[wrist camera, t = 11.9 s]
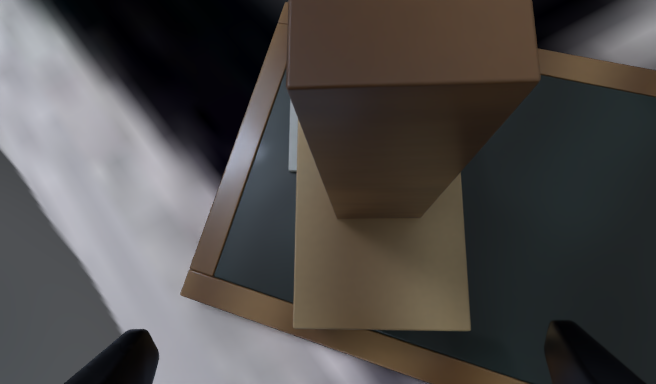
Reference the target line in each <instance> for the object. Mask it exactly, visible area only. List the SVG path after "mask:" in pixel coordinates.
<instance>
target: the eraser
mask: <svg viewBox="0 0 656 384" xmlns="http://www.w3.org/2000/svg"><path fill="white" fill-rule="evenodd" d="M540 80H541V75H540V66H539V57H538V49H537V40H536V31H535V22H534V14H533V5H532V0H288V32H287V64H286V89H287V91H288V94H289V96H290V99H291V102H292V104H293V107H294V109H295V112H296V115H297V117H298V132H297V174H296V216H295V259H294V301H293V328H295V329H346V330H411V331H470V330H471V321H470V306H469V291H468V276H467V260H466V245H465V230H464V214H463V199H462V184H461V171H462V170H463V169H464V168H465V167H466V165H467V164H468V163H469V162H470V161H471V160H472V159H473V157H474V156H475V155H476V154H477V153H478V152H479V151H480V149H481V148H482V147H483V146H484V145H485V144H486V143H487V141H488V140H489V139H490V138H491V137H492V136H493V135H494V133H495V132H496V131H497V130H498V129H499V128H500V127H501V125H502V124H503V123H504V122H505V121H506V120H507V119H508V118H509V116H510V115H511V114H512V113H513V112H514V111H515V110H516V108H517V107H518V106H519V105H520V104H521V103H522V102H523V100H524V99H525V98H526V97H527V96H528V95H529V94H530V92H531V91H532V90H533V89H534V88H535V87H536V86H537V84H538V83H539V82H540Z"/></svg>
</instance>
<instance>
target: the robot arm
mask: <svg viewBox="0 0 656 384" xmlns="http://www.w3.org/2000/svg"><path fill="white" fill-rule="evenodd" d="M544 354H545V358H546V362H547V365H548V369H549V373H550V376H551V380H552V383H553V384H646V383H645V382H644V381H643V380H642V379H641V378H639V377H638V376H637V375H636V374H635V373H634V372H633V371H631V370H630V369H629V368H628V367H627V366H626V365H624V364H623V363H622V362H621V361H620V360H619V359H617V358H616V357H615V356H614V355H613V354H612V353H610V352H609V351H608V350H607V349H606V348H605V347H603V346H602V345H601V344H600V343H599V342H598V341H596V340H595V339H594V338H593V337H592V336H591V335H589V334H588V333H587V332H586V331H585V330H584V329H582V328H581V327H580V326H579V325H578V324H577V323H575V322H574V321H572V320H552V321H551V322H550V323H549V326H548V330H547V334H546V339H545V343H544ZM158 360H159V352H158V349H157V347H156V345H155V343H154V342H153V340H152V338H151V336H150V334H149V332H148V331H147V330H145V329H131V330H128V331H126V332H125V333H124V334H122V335H121V336H120V337H119V338H118V339H116V340H115V341H114V342H113V343H112V344H111V345H110V346H108V347H107V348H106V349H105V350H103V351H102V352H101V353H100V354H99V355H97V356H96V357H95V358H94V359H93V360H92V361H90V362H89V363H88V364H87V365H86V366H84V367H83V368H82V369H81V370H80V371H79V372H77V373H76V374H75V375H74V376H72V377H71V378H70V379H69V380H68V381H67V382H65V383H64V384H152V383H153V379H154V376H155V372H156V368H157V365H158Z"/></svg>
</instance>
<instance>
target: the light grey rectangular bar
mask: <svg viewBox="0 0 656 384" xmlns="http://www.w3.org/2000/svg"><path fill="white" fill-rule="evenodd" d="M297 132H298V117H297V115H296V112H295V109H294V107H293V104H292V102H291V99H290V132H289V171H290V172H297Z"/></svg>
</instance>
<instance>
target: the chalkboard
mask: <svg viewBox="0 0 656 384" xmlns="http://www.w3.org/2000/svg"><path fill="white" fill-rule="evenodd" d="M287 32H288V2H285V4H284V7H283V10H282V12H281V15H280V18H279V21H278V24H277V27H276V30H275V32H274V35H273V38H272V41H271V44H270V46H269V49H268V52H267V55H266V57H265V60H264V63H263V66H262V69H261V71H260V74H259V77H258V80H257V82H256V85H255V88H254V91H253V93H252V96H251V99H250V102H249V105H248V107H247V110H246V113H245V116H244V118H243V121H242V124H241V127H240V130H239V132H238V135H237V138H236V141H235V143H234V146H233V149H232V152H231V155H230V157H229V160H228V163H227V166H226V168H225V171H224V174H223V177H222V180H221V182H220V185H219V188H218V191H217V193H216V196H215V199H214V202H213V205H212V207H211V210H210V213H209V216H208V218H207V221H206V224H205V227H204V230H203V232H202V235H201V238H200V241H199V243H198V246H197V249H196V252H195V255H194V257H193V260H192V263H191V266H190V270H189V271H188V274H187V277H186V279H185V282H184V285H183V288H182V290H181V293H180V295H181V296H184V297H187V298H190V299H192V300H195V301H198V302H201V303H204V304H207V305H209V306H212V307H215V308H218V309H221V310H224V311H226V312H229V313H232V314H235V315H238V316H241V317H243V318H246V319H249V320H252V321H255V322H258V323H260V324H263V325H266V326H269V327H272V328H275V329H277V330H280V331H283V332H286V333H289V334H292V335H294V336H297V337H300V338H303V339H306V340H309V341H311V342H314V343H317V344H320V345H323V346H325V347H328V348H331V349H334V350H337V351H340V352H342V353H345V354H348V355H351V356H354V357H357V358H359V359H362V360H365V361H368V362H371V363H374V364H376V365H379V366H382V367H385V368H388V369H391V370H393V371H396V372H399V373H402V374H405V375H408V376H410V377H413V378H416V379H419V380H422V381H425V382H427V383H430V384H553V383H552V380H551V376H550V373H549V369H548V365H547V362H546V358H545V354H544V343H545V339H546V334H547V330H548V326H549V323H550V322H551V321H552V320H572V321H574V322H575V323H577V324H578V325H579V326H580V327H581V328H582V329H584V330H585V331H586V332H587V333H588V334H589V335H591V336H592V337H593V338H594V339H595V340H596V341H598V342H599V343H600V344H601V345H602V346H603V347H605V348H606V349H607V350H608V351H609V352H610V353H612V354H613V355H614V356H615V357H616V358H617V359H619V360H620V361H621V362H622V363H623V364H624V365H626V366H627V367H628V368H629V369H630V370H631V371H633V372H634V373H635V374H636V375H637V376H638V377H639V378H641V379H642V380H643V381H644V382H645V383H646V384H656V70H651V69H645V68H640V67H635V66H629V65H624V64H618V63H613V62H608V61H602V60H597V59H591V58H586V57H580V56H575V55H570V54H564V53H559V52H553V51H548V50H543V49H538V57H539V66H540V75H541V80H540V82H539V83H538V84H537V86H536V87H535V88H534V89H533V90H532V91H531V92H530V94H529V95H528V96H527V97H526V98H525V99H524V100H523V102H522V103H521V104H520V105H519V106H518V107H517V108H516V110H515V111H514V112H513V113H512V114H511V115H510V116H509V118H508V119H507V120H506V121H505V122H504V123H503V124H502V125H501V127H500V128H499V129H498V130H497V131H496V132H495V133H494V135H493V136H492V137H491V138H490V139H489V140H488V141H487V143H486V144H485V145H484V146H483V147H482V148H481V149H480V151H479V152H478V153H477V154H476V155H475V156H474V157H473V159H472V160H471V161H470V162H469V163H468V164H467V165H466V167H465V168H464V169H463V170H462V171H461V184H462V199H463V214H464V230H465V245H466V260H467V276H468V291H469V306H470V321H471V330H470V331H411V330H346V329H295V328H293V301H294V259H295V216H296V174H297V172H290V171H289V132H290V96H289V94H288V91H287V89H286V64H287Z"/></svg>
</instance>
